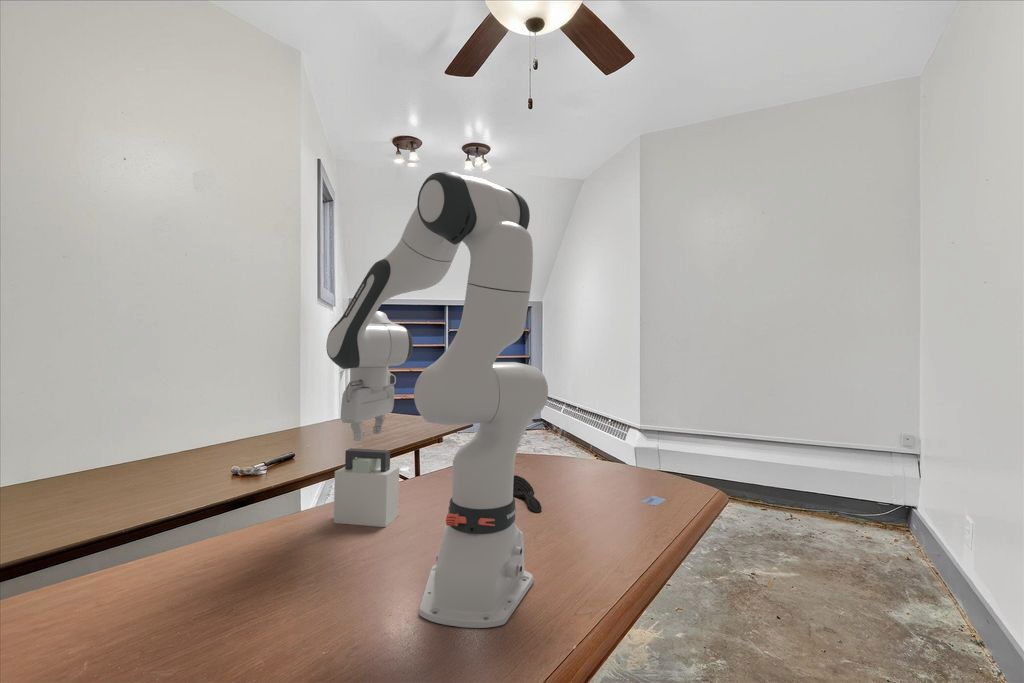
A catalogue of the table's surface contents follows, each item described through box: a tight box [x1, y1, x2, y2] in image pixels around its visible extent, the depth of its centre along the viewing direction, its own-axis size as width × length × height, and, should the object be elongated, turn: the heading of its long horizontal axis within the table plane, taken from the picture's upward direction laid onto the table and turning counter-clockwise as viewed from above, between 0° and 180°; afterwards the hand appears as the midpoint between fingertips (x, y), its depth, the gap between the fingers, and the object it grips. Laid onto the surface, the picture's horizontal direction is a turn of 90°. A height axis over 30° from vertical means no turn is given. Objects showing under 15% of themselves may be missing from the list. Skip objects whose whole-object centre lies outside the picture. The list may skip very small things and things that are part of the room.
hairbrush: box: [513, 474, 542, 514], centre depth 131 cm, size 8×4×25 cm
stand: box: [333, 457, 400, 528], centre depth 113 cm, size 13×7×15 cm, turn 80°
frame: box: [344, 448, 391, 472], centre depth 113 cm, size 10×2×4 cm, turn 80°
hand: (368, 436), depth 113 cm, fingers open, 8 cm apart
